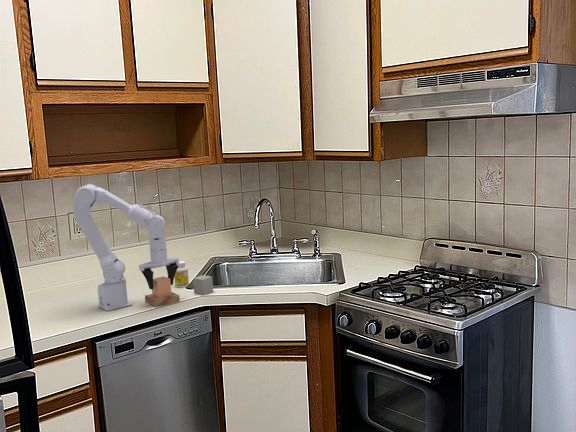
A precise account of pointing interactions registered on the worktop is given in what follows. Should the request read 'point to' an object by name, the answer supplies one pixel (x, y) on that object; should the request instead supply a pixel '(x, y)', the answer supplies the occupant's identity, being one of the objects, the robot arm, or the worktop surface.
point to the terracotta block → (161, 287)
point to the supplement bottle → (181, 275)
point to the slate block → (203, 285)
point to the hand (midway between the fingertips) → (161, 286)
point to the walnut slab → (161, 300)
